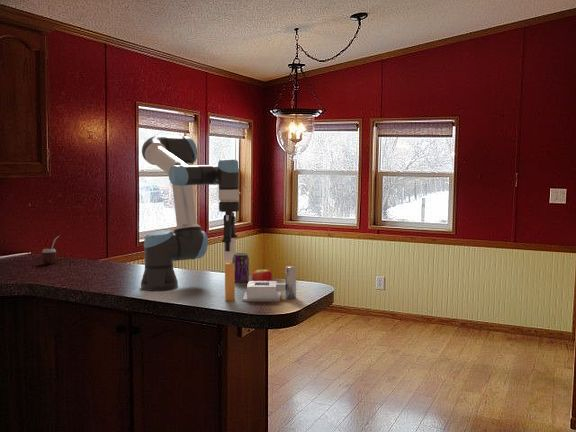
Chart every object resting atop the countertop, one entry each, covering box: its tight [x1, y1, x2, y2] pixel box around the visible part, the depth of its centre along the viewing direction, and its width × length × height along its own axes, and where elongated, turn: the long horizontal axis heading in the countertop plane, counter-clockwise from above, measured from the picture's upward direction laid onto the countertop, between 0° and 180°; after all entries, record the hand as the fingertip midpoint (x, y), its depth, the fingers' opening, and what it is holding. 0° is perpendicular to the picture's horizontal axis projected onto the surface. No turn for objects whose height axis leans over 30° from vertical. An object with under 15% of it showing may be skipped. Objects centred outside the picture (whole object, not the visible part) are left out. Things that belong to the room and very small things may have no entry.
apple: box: [251, 264, 273, 281], centre depth 250 cm, size 8×8×10 cm
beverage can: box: [232, 252, 250, 283], centre depth 264 cm, size 7×7×12 cm
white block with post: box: [242, 265, 297, 302], centre depth 231 cm, size 20×12×12 cm, turn 90°
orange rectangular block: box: [224, 262, 236, 302], centre depth 227 cm, size 4×4×14 cm
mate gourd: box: [41, 235, 60, 266], centre depth 309 cm, size 8×8×15 cm
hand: (229, 257), depth 226 cm, fingers open, 13 cm apart
